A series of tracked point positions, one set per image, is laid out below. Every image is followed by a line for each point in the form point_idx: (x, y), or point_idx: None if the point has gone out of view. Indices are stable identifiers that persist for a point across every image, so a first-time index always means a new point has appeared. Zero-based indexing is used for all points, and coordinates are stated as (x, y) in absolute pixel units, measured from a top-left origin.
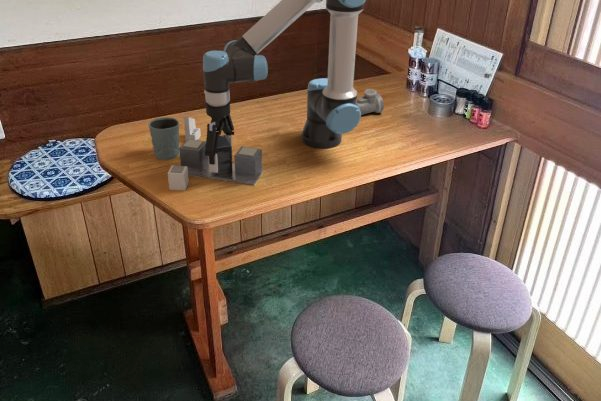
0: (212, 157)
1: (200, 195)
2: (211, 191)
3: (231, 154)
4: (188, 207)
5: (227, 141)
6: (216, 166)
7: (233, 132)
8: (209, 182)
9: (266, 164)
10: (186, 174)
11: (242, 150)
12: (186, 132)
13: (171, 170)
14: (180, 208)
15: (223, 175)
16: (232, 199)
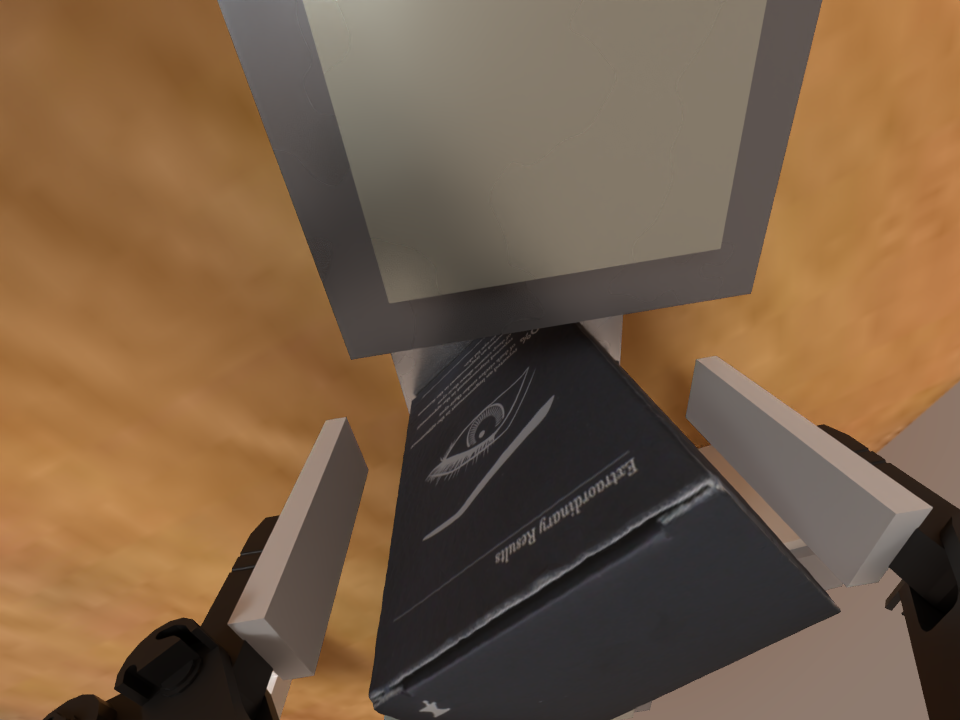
0: (942, 506)
1: (816, 337)
2: (766, 302)
3: (622, 370)
4: (953, 328)
5: (568, 606)
6: (767, 395)
7: (144, 677)
8: (653, 368)
9: (156, 59)
10: (754, 503)
11: (557, 234)
12: (282, 695)
13: (832, 586)
14: (954, 360)
15: (587, 326)
16: (895, 79)
